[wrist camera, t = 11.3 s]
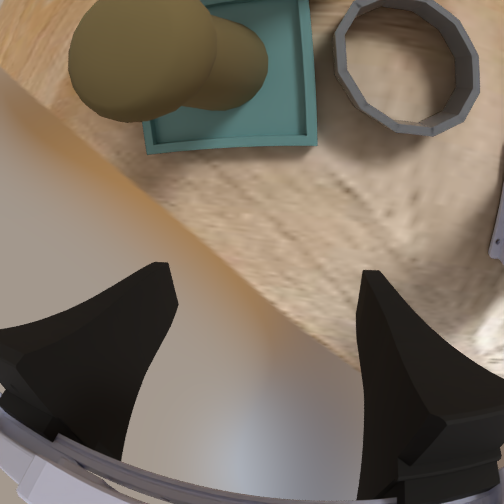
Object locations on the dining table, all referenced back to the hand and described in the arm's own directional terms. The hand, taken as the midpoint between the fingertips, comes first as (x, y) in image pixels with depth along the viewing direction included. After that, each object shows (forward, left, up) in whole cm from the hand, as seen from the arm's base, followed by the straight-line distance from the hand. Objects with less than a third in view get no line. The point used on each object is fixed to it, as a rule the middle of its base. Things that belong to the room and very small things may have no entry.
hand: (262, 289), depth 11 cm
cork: (+9, +4, -10) cm, 14 cm away
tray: (+8, +4, -10) cm, 14 cm away
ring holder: (+9, -7, -10) cm, 16 cm away
